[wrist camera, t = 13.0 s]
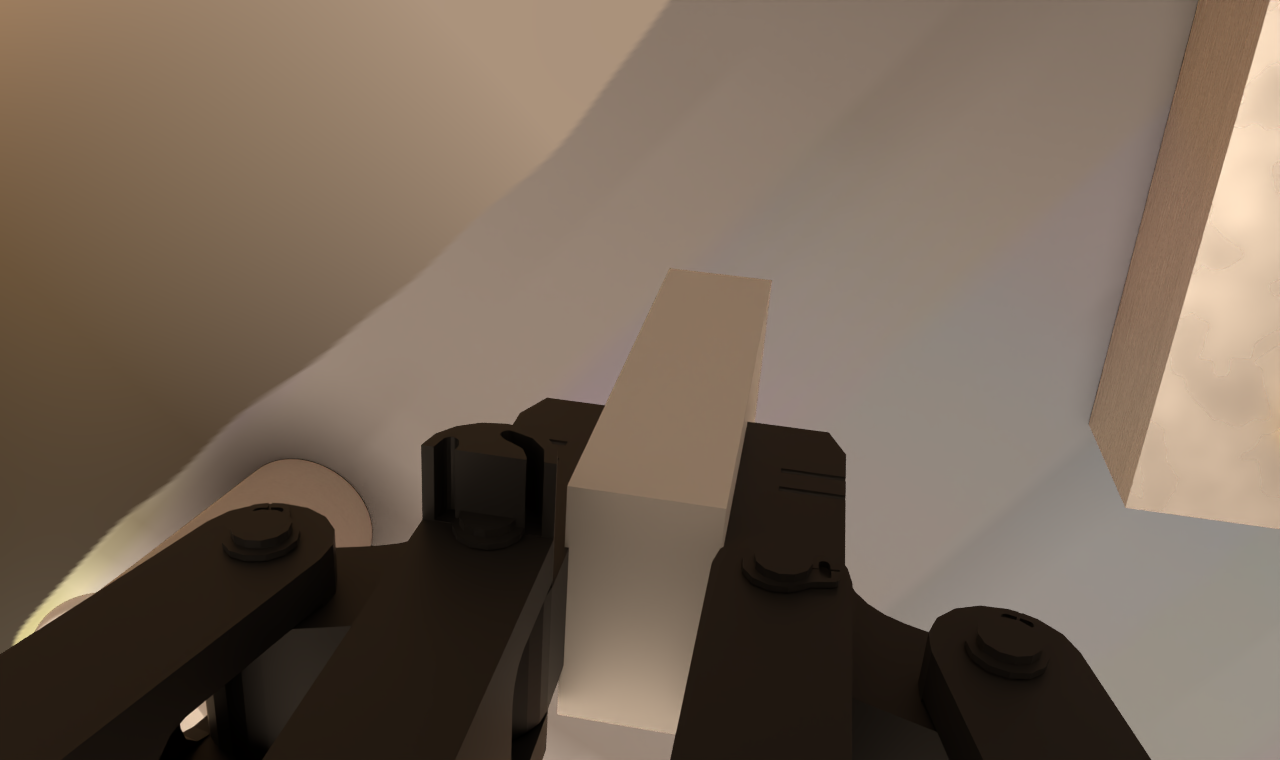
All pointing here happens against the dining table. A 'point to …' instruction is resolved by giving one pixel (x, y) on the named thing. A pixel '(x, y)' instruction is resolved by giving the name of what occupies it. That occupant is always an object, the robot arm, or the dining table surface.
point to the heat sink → (1205, 290)
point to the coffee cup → (271, 485)
